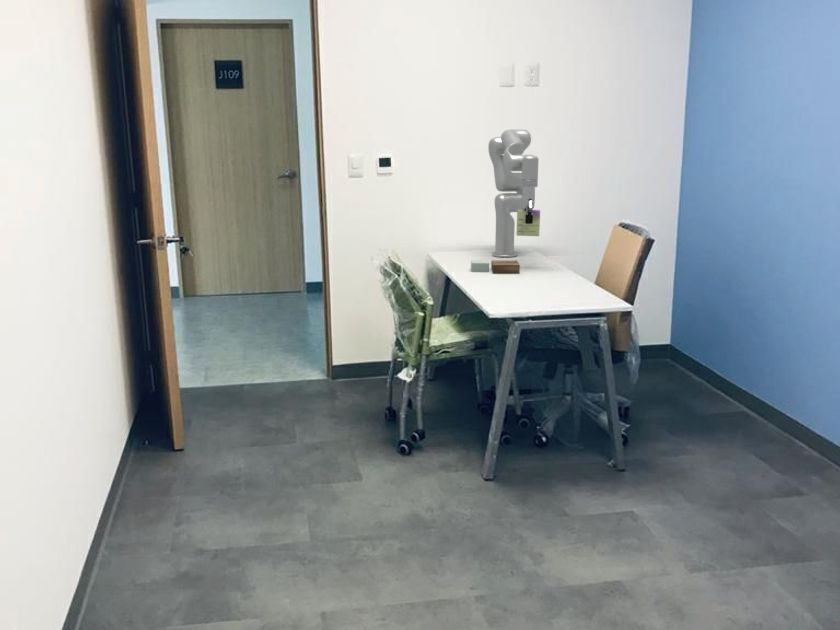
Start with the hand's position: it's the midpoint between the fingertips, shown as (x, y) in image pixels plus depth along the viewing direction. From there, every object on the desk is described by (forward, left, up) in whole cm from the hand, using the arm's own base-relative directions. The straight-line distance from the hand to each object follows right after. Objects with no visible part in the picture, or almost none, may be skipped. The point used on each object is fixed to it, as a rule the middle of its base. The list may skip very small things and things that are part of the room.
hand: (528, 222), depth 371 cm
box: (0, 0, -6) cm, 6 cm away
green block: (+7, -22, -21) cm, 32 cm away
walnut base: (+9, -11, -21) cm, 26 cm away
